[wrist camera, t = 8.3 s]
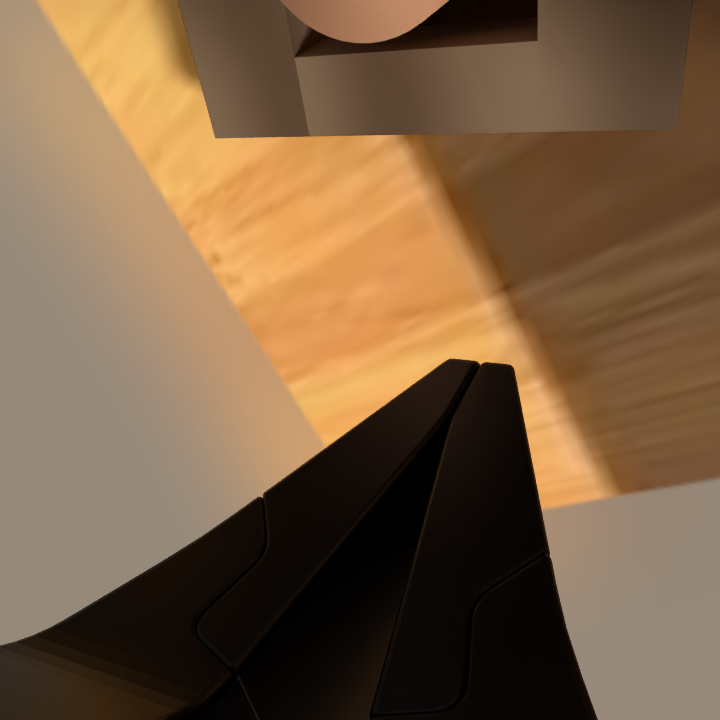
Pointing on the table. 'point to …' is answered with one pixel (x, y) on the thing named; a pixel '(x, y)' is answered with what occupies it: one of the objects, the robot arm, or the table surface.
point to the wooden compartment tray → (442, 71)
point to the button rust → (363, 17)
